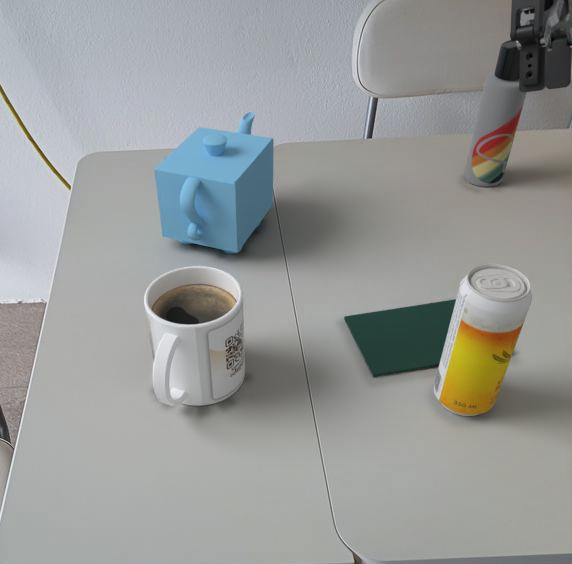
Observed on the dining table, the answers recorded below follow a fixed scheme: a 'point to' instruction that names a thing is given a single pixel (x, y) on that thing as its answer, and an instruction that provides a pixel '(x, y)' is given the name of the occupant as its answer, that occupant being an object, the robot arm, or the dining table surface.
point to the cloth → (402, 336)
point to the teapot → (216, 187)
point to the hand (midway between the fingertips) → (545, 89)
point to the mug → (196, 335)
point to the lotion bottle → (496, 120)
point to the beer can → (481, 338)
